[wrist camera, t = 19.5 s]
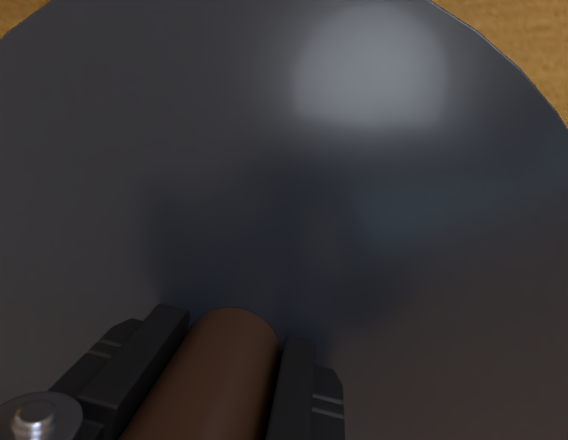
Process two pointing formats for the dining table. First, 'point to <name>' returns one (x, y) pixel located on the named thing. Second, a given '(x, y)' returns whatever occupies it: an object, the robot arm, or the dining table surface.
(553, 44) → the dining table surface
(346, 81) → the lid
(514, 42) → the dining table surface
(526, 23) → the dining table surface
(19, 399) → the robot arm
